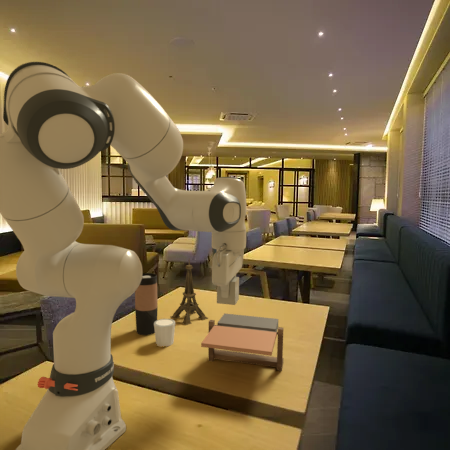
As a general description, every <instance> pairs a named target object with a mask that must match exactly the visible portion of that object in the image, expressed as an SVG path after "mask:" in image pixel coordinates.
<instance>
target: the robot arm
mask: <svg viewBox="0 0 450 450" xmlns="http://www.w3.org/2000/svg"><path fill="white" fill-rule="evenodd" d="M3 92H4V93H3V114H2V118H3V121H4V123H5V124H6V125H7V129H6V130H5V131H4V132H2V133H0V215H1V216H2V217H3V219H4V220H5V222H6V223H7V224H8V226H9V228H11V230H12V232H13V233H14V235H15V236H16V238H17V239H18V240H19V242H20V243H21V245H22V248H23V250H24V251H22V253H21V254H20V256H19V257H18V260H17V263H16V266H15V276H16V280H17V282H18V284H19V285H20V287H22V288H23V289H24V290H26V291H29V292H31V293H34V294H39V295H42V296H46V297H57V298H58V297H59V298H70V299H71V298H72V299H74V300H75V309H74V312H72V313H70V314H68V315H67V316H65V317H63V318H61V320H60V321H59V322H58V323H57V325H56V326H55V327H54V328H53V329H54V330H53V332H52V345H53V347H52V349H53V364H52V367H51V370H50V375H49V377H46V376H40V377H39V379H38V381H37V387H38V388H39V389H45V390H46V392H45V393H44V395H43V396H42V398H41V400H40V401H39V403H38V404H37V406H36V408H35V409H34V410H33V412H32V414H31V416H29V418H28V420H27V421H26V423H25V424H24V427H23V429H22V434H21V440H20V441H21V442H20V444H19V445H18V446H17V447H16V448H15V450H106V449H107V448H109V447H110V446H111V445H112V444H114V442H115V441H116V440H118V438H120V437H121V436H122V435H123V434H124V433H125V432H126V430H127V424H126V423H125V421H124V419H122V416H121V415H122V414H121V405H120V404H121V403H120V397H119V390H118V388H117V386H116V384H115V382H114V378H113V375H114V367H115V364H114V363H115V362H114V357H113V355H112V353H111V350H112V349H111V347H112V346H111V344H112V340H111V339H112V326H113V325H112V324H113V321H114V317H115V314H116V312H117V310H118V309H119V307H120V306H121V305H122V303H124V302H125V301H126V300H127V299H128V298H130V297H131V296H132V295H133V294H135V291H136V290H137V288H138V287H139V285H140V282H141V279H142V273H143V264H142V262H141V260H140V258H139V257H140V256H138V253H136V252H135V250H131V249H128V248H124V247H122V246H117V245H113V244H95V243H94V244H91V243H82V242H81V243H80V242H78V241H76V240H77V239H78V238H79V237H80V235H81V234H82V232H83V229H84V224H85V223H84V222H85V217H84V214H83V212H82V210H81V208H80V206H79V204H78V202H77V200H76V198H75V196H74V195H73V192H72V190H71V189H70V187H69V184H68V182H67V181H66V179H65V178H64V177H65V176H64V174H63V173H62V171H61V170H68V169H74V168H78V167H80V166H83V165H85V164H86V163H88V162H90V161H91V160H93V159H94V158H95V157H97V155H98V154H99V153H100V152H103V151H104V150H106V149H108V148H109V147H110V146H111V147H112V148H113V149H114V150H115V152H117V154H118V155H120V156H121V157H122V158H123V160H125V162H126V164H127V165H126V166H127V169H128V172H129V175H131V177H132V179H133V181H135V183H136V184H137V185H138V187H139V188H140V189H141V191H142V192H143V193H144V194H145V196H146V197H147V198H148V199H149V201H150V202H151V203H152V204H153V205H154V207H155V208H156V209H157V211H158V213H159V216H160V218H161V220H162V221H163V223H164V225H165V226H166V227H167V228H168V229H170V230H172V231H190V232H191V231H192V232H201V233H203V232H204V233H205V232H206V233H211V248H212V250H213V249H214V250H216V252H215V253H214V254H213V257H212V264H211V266H212V267H211V283H212V285H213V286H217V285H218V286H220V288H221V296H222V297H223V298H228V296H229V292H230V290H229V282H230V281H231V280H232V278H233V277H237V274H238V273H239V271H241V269H242V268H243V263H244V254H245V253H244V252H245V249H246V248H247V247H246V246H247V227H246V222H245V219H246V215H247V193H246V186H245V182H244V181H243V180H242V179H240V178H237V177H231V176H220V177H216V178H215V179H214V182H213V186H211V187H210V188H209V189H207V190H185V189H179V188H176V187H175V186H173V184H172V183H171V181H170V180H169V178H168V177H167V176H168V175H169V174H171V172H173V170H174V169H175V168H177V166H178V164H179V162H180V160H181V158H182V155H183V153H184V152H183V151H184V139H183V137H182V134H181V132H180V130H179V127H178V126H177V125H176V124H175V122H174V121H173V119H172V118H171V117H170V115H169V114H168V112H166V110H165V109H164V108H163V106H162V105H161V104H160V103H159V102H158V101H157V100H156V99H155V98H154V96H153V95H152V94H151V93H150V92H149V91H148V90H147V89H146V88H145V87H144V86H143V85H142V84H141V83H139V82H138V81H137V80H136V79H135V78H133V77H132V76H131V75H128V74H127V73H121V72H118V73H117V72H114V73H111V74H108V75H105V76H104V77H101V78H100V79H99V80H98V81H96V82H95V83H94V84H91V85H90V86H84V85H83V86H80V85H78V84H77V83H76V82H75V81H74V80H73V79H72V78H71V77H70V75H68V74H67V73H66V72H65V71H64V70H62V69H61V68H59V66H58V67H57V66H55V65H53V64H51V63H48V62H43V61H30V62H29V61H28V62H25V63H22V64H20V65H18V66H17V67H15V68H14V69H13V70H12V71H11V73H10V74H9V75H8V77H7V80H6V82H5V87H4V91H3Z"/></svg>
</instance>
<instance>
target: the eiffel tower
mask: <svg viewBox="0 0 450 450" xmlns="http://www.w3.org/2000/svg"><path fill="white" fill-rule="evenodd" d="M190 262H191V261H190V259H188V265H185V269H186V275H185V286H184V291H183V292H182V296H183V297H182V300H181V303H179V306H178V308H177V309H176V310H175V311H174V313H172V315H171V316H170V319H172V320H177V319H180V318H181V316H180V315H181V314H182V312H184V311H185V315H184V317H183V320H182V321H181V324H183V325H185V326H188V325H192V321H191V315H194V314H197V316H198V319H199V320H201V321H204V320H208V319H209V317H207V316H206V314H205V313H204V311H202V309H201V307H199V303H198V302H197V300H196V295H197V294H196V292H195V290H194V289H195V288H194V282H193V274H192V269H194V267H193V265H192V264H191V263H190Z"/></svg>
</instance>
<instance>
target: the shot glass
mask: <svg viewBox="0 0 450 450" xmlns="http://www.w3.org/2000/svg"><path fill="white" fill-rule="evenodd" d="M175 328H176V321H175V319H173V318H161V319H157V321H155V322H154V330H155V333H154V335H155V336H154V337H155V345H156V344H157V345H156V346H158V347H161V348H162V346H163V348H164V346H166V347H169V346H172V345H174V340H175Z"/></svg>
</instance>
